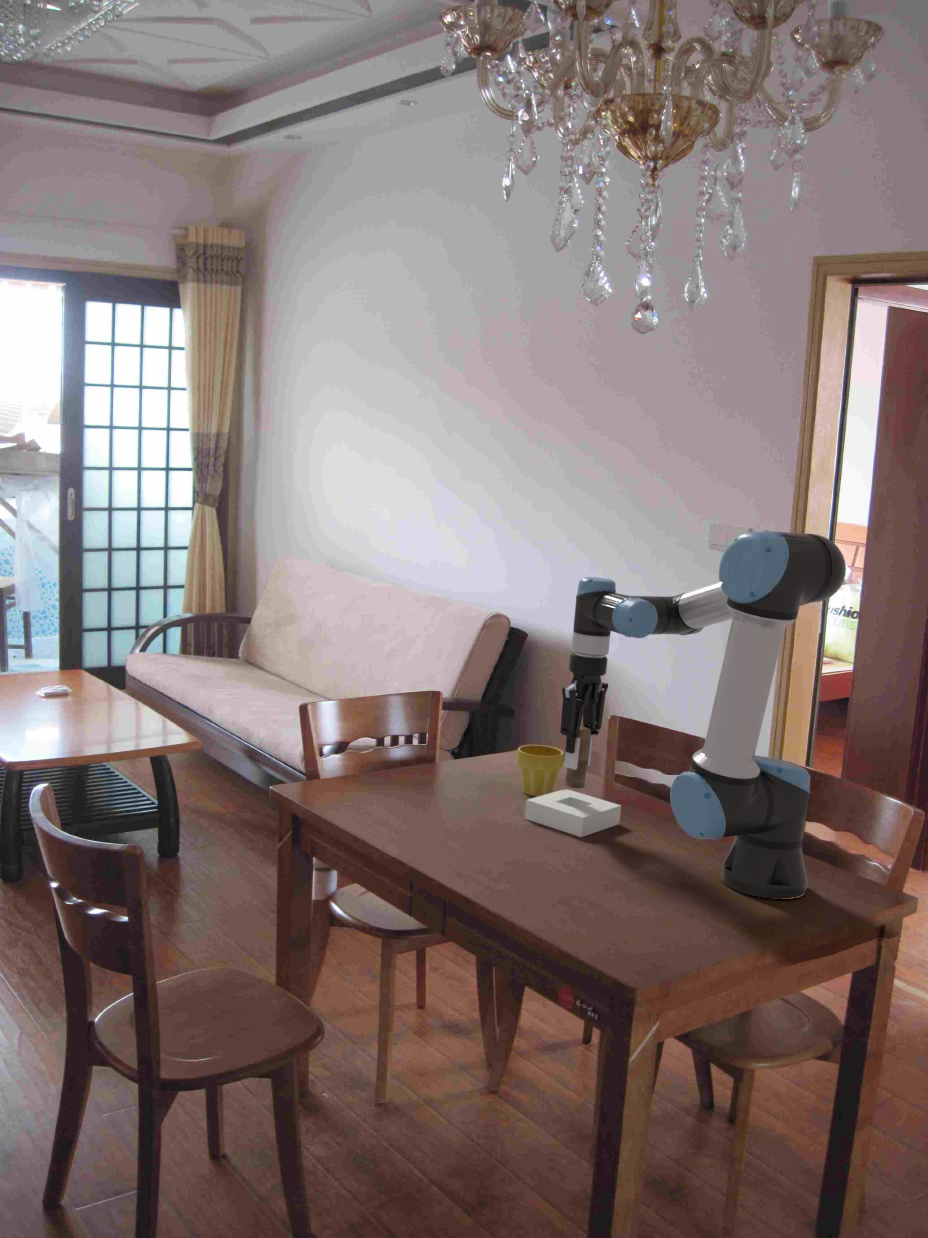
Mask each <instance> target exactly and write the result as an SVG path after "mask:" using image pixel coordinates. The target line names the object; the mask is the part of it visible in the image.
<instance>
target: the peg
mask: <svg viewBox="0 0 928 1238" xmlns="http://www.w3.org/2000/svg"><path fill="white" fill-rule="evenodd" d="M590 733H591V729H590V728H587V727H583V725H582V726H581V725H580V730H579V734H578V738H580V747H579V756H578V765H577V769H576V770H574V769H571V768H567V767H566V771H565V783H564V785H565V786H566V787H568V788H572V789H584V788H585V786H586V777H587V776H586V775H587V770H588V769H587V767H588V766H587V760H588V751H589V742H590Z"/></svg>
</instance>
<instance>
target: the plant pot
mask: <svg viewBox="0 0 928 1238" xmlns="http://www.w3.org/2000/svg"><path fill="white" fill-rule="evenodd" d="M516 751H517V752H516V763H517V765H519V766H518V767H519V774H520V779H521V788H522V789H521V790H522V792H523V793H524V794H525V795H528V796H532V797H538V796H542V795H545V794H549V793H553V792H554V789H555V785H556V782H557V779H558V775H559V772H560V769H562V768H563V767H564V761H565V753H564V750H562V749H561V748H558V747H555V746H552V745H551V746H550V745H543V744H542V745H541V744H524V745H520V746H519V747H518V748H517V750H516Z"/></svg>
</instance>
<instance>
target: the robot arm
mask: <svg viewBox="0 0 928 1238" xmlns="http://www.w3.org/2000/svg"><path fill="white" fill-rule="evenodd" d="M846 565H847V564H846V560H845V557H844V555H843V553H842V551H841V550H840V548H839V547H838V546H837V545H836V543H835V542H833V541H832V540H830V539H829V538H827V537H825V536H822V535H819V534H814V533H798V532H797V533H796V532H787V531H775V530H774V531H773V530H768V529H767V530H761V531H748V532H744V533H743V534H740V535H739V536H738V537H737V538H735V539H733V540H732V541H731V542H730V543H729V544H728V546H727V547H726V548H725V550H724V551H723V553H722V556H721V558H720V562H719V567H718V579H719V581H716V582H712V583H710V584H707V585H704V586H701V587H698V588H694V589H691V590H689V591H686V592H682V593H679V594H677V595H672V596H671V595H670V596H657V595H655V596H651V595H649V596H648V595H628V594H626V595H625V594H621V593H617V590H616V588H617V587H616V585H617V584H616V582H615V581H614V580H613V579H609V578H602V577H594V576H593V577H591V576H585V577H582V578H580V580H579V581H578V587H577V591H576V592H577V593H576V596H575V607H574V608H575V609H574V617H573V619H574V620H573V630H572V640H571V647H570V648H571V651H572V652H571V654H570V657H569V666H568V670H569V672H571V673H572V675H573V676H572V679H571V682H570V685H569V686H563V687H562V688H561V689H562V690H561V692H562V693H561V694H562V707H561V708H562V710H561V721H560V730H559V731H560V734H561V735H563V736H566V740H565V753H564V762H563V767H565V768H566V769H567V768H571V769H574V770H576V769H577V765H578V756H579V747H580V738H578V734H579V730H580V726H581V725H582V727H587V728H590V729H591V733H590V742H589V751H588V760H587V767H589V766H591V759H592V751H593V750H592V749H593V743H594V742H593V741H594V736H598V735H599V733H600V730H601V728H602V725H603V724H602V723H603V717H604V715H603V714H604V709H605V701H606V694H607V691H608V688H609V683H607V682H603V681H602V678H601V677H603V676H605V675H606V674H607V668H608V657H607V655H608V654H609V652H610V651H609V650H610V642H611V641H610V640H611V633H612V632H614V633H617V634H620V635H622V636H624V637H626V638H627V637H628V638H636V639H643V638H646V637H647V636H649V635H650V636H651V635H654V636H655V635H680V636H687V635H695V634H698V633H700V632H702V631H703V629H705V627H708V626H712V625H714V624H719V623H722V622H726V621H729V620H731V624H730V628H729V633H728V637H727V642H726V646H725V650H724V655H723V660H722V665H721V670H720V674H719V678H718V683H717V686H716V692H715V695H714V700H713V705H712V709H711V714H710V718H709V722H708V723H709V724H708V727H707V731H706V735H705V741H704V745H703V747H701V749H698V750H696V751H695V752H694V753H692V754H693V755H692V759H691V762H690V766H689V770H688V771H683V772H682V773H680V774H678V776H676V777H675V778H674V779H673V781H672V784H671V786H670V787H671V788H670V790H669V791H670V795H669V797H670V799H669V800H670V806H671V807H670V808H671V811H672V813H673V815H674V816H675V817H674V818H675V820H676V823H677V824H678V826H679V827H680V828H681V829H682V830H683V831H684V832H685V834H687V835H689V836H690V837H691V838H694V839H698V840H715V841H716V840H719V839H722V838H730V837H735V839H734V840H733V843H732V844H731V847H730V849H729V851H728V853H727V856H726V857H725V859H724V861H723V863H722V867H721V875H720V879H721V881H722V883H723V884H725V885H726V886H727V887H729V888H730V889H733V890H735V891H737V892H739V893H741V892H742V894H744V893H745V894H744V895H748V894H749V895H748V896H751V895H753V896H752V897H755V896H758V897H757V898H760V897H766V898H778V899H780V898H781V899H782V898H791V897H797V896H800V895H802V894H803V893H805V892H806V893H807V890H808V889H807V888H808V876H807V869H806V866H805V860H804V856H803V839H804V834H805V827H806V819H807V813H808V812H807V811H808V805H809V798H810V794H811V789H810V785H811V775H810V773H809V772H808V770H807V769H806V768H804V767H802V766H800V765H797V764H795V763H792V762H789V761H786V760H783V759H782V760H781V759H778V758H775V757H768V756H762V755H756V751H757V747H758V743H759V738H760V734H761V730H762V725H763V722H764V717H765V713H766V709H767V705H768V700H769V696H770V691H771V687H772V683H773V679H774V674H775V671H776V667H777V663H778V658H779V653H780V650H781V645H782V642H783V637H784V633H785V629H786V628H787V626H789V625H791V624H792V623H794V622H796V621H797V618H798V614H799V611H800V607H801V606H805V605H808V604H809V605H810V604H812V603H813V604H814V603H819V602H823V601H825V600H827V599H829V598H831V597H832V596H834V595H835V594H836V593H837V592H838V591H839V590H840V589H841V587H842V585H843V583H844V581H845V578H846V573H847V572H846V570H847V567H846ZM806 889H807V890H806Z"/></svg>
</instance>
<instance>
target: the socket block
mask: <svg viewBox="0 0 928 1238" xmlns="http://www.w3.org/2000/svg"><path fill="white" fill-rule="evenodd" d="M621 811H622V805H621V804H618V803H614V802H611V801H608V800H605V799H602V798H601V799H600V798H598V797H594V796H592V795H588V794H584V793H581V792H578V791H574V790H572V789H568V788H564V789H559V790H556V791H553V793H549V794H545V795H542V796H538V797H537V796H534V797H532V798H528V799H526V803H525V813H524V820H527V821H531V822H534V823H537V824H540V825H543V826H545V827H549V828H552V829H555V830H558V831H561V832H564V833H567V834H569V835H573V836H577V837H579V838H582V837H586V836H589V835H592V834H595V833H597V832H598V833H599V832H600V831H602V830H603V831H604V830H607V829H610V828H612V827H615V826H618V825H620V821H621V820H620V819H621Z"/></svg>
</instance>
